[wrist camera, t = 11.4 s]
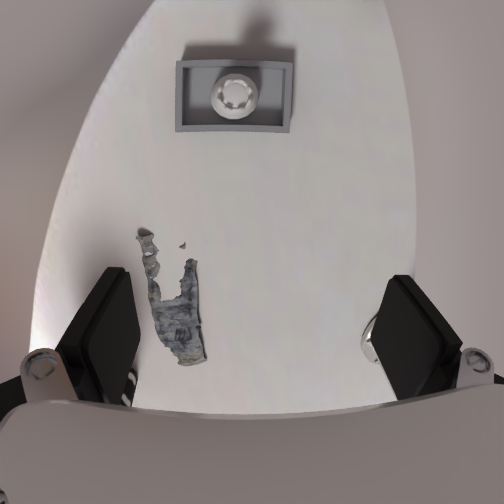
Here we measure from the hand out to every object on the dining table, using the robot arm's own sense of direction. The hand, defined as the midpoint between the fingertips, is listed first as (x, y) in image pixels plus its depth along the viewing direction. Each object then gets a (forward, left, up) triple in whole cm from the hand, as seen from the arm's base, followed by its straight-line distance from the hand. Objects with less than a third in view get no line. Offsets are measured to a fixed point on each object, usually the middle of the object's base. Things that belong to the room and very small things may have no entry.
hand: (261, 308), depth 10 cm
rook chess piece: (+1, -7, -21) cm, 23 cm away
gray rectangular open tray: (+1, -7, -21) cm, 23 cm away
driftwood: (+8, +17, -22) cm, 29 cm away
